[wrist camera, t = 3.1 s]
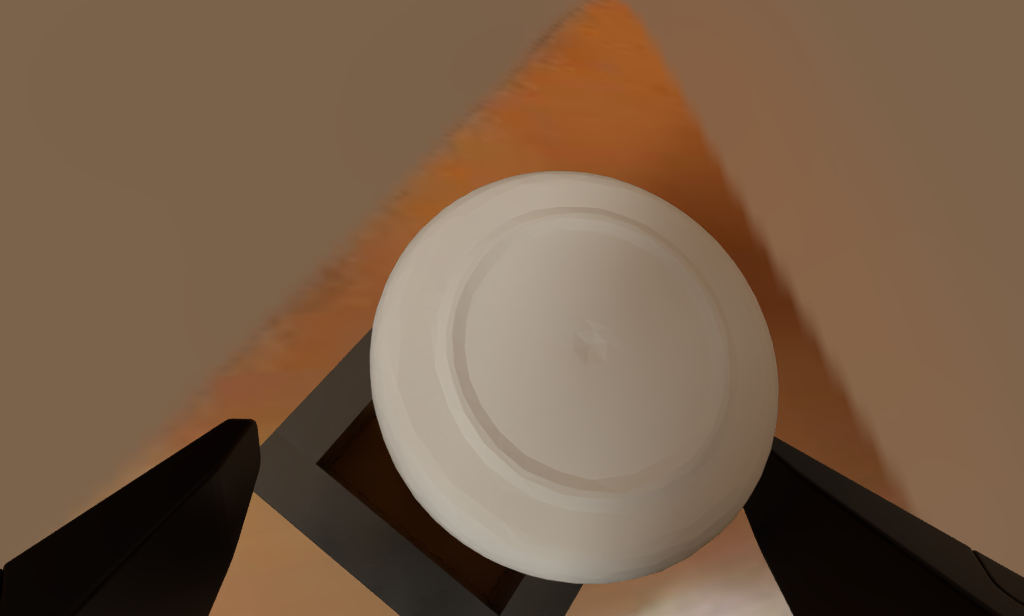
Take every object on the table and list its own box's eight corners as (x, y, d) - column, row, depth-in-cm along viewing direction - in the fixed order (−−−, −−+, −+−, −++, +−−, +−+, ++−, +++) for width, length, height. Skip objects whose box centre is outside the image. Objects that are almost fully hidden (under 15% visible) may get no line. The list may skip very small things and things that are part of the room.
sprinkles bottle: (463, 358, 19) (554, 88, 6) (559, 440, 18) (862, 325, 6) (374, 458, 17) (254, 362, 5) (478, 550, 17) (658, 723, 4)
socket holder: (496, 676, 15) (510, 709, 13) (260, 477, 16) (233, 474, 14) (649, 423, 19) (682, 414, 17) (450, 270, 20) (454, 240, 17)
